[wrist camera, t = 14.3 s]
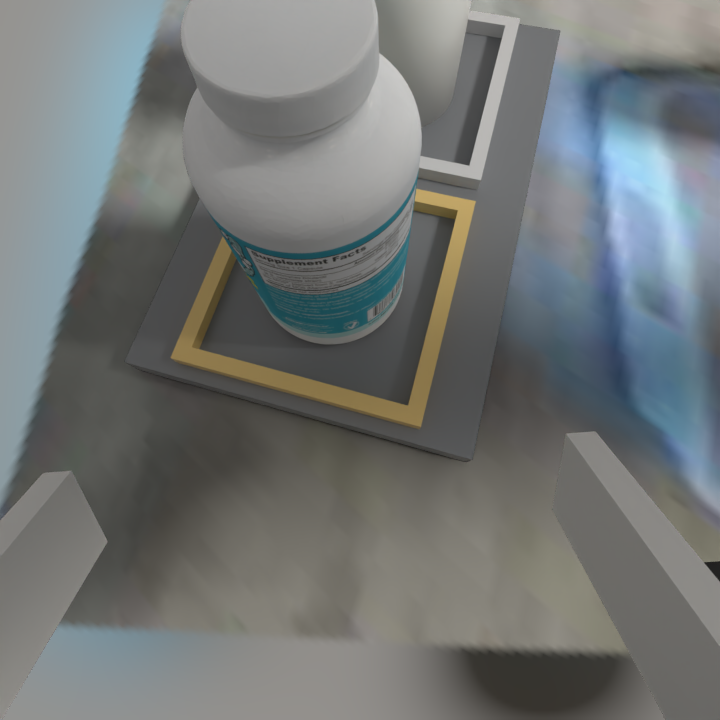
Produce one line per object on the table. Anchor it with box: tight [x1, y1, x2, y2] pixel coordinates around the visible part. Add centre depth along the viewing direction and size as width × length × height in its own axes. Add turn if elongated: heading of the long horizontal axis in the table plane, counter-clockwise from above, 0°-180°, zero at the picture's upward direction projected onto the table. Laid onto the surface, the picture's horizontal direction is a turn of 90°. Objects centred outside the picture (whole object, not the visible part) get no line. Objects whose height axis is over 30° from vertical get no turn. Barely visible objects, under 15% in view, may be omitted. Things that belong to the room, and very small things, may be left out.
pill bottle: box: [181, 0, 422, 344], centre depth 16 cm, size 8×7×14 cm
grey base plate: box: [124, 11, 560, 462], centre depth 25 cm, size 18×28×2 cm, turn 164°
